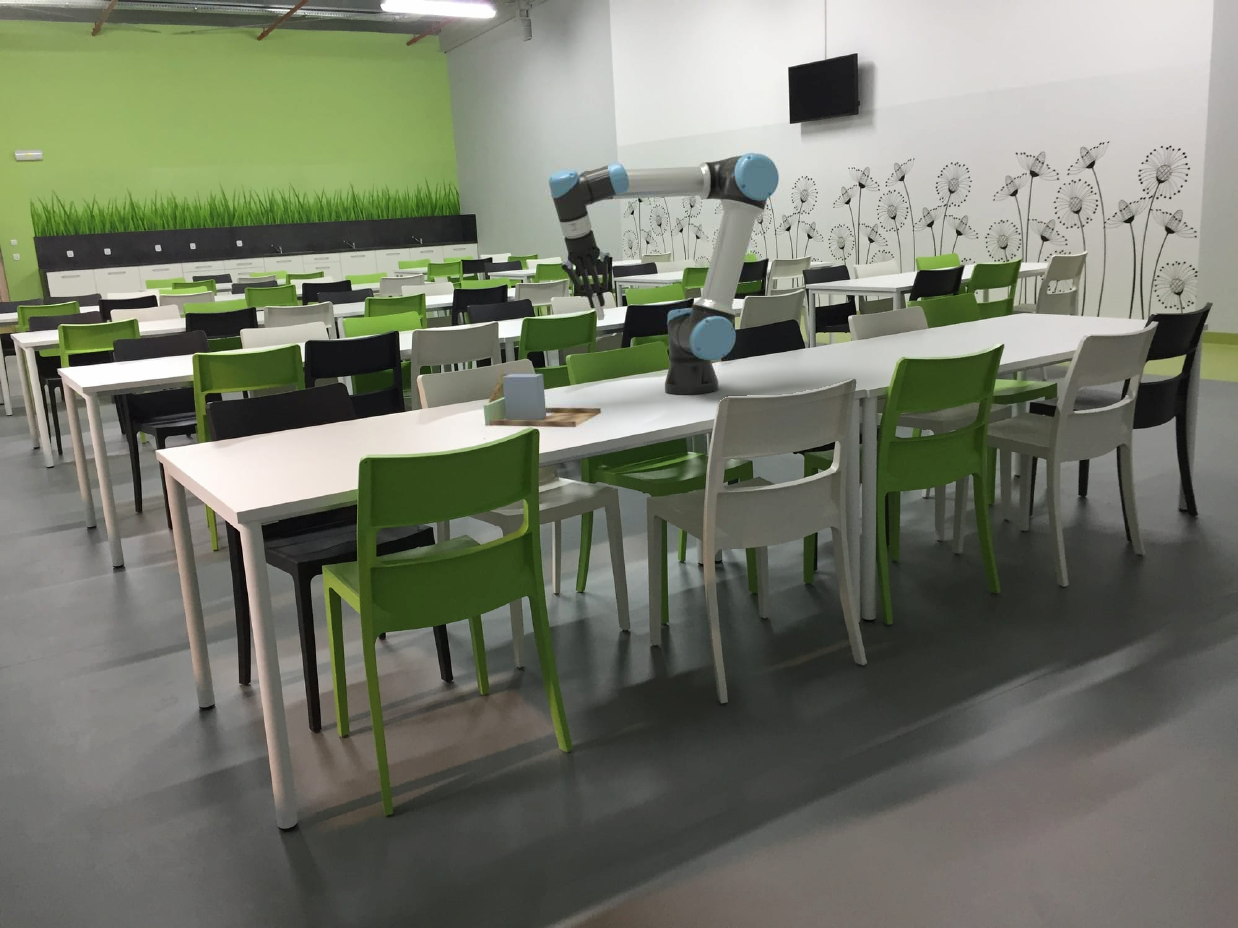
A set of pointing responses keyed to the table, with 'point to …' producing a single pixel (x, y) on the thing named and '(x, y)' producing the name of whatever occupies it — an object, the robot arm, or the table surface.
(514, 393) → the block
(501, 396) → the rock
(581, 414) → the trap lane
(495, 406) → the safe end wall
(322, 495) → the table surface
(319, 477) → the table surface
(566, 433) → the table surface
